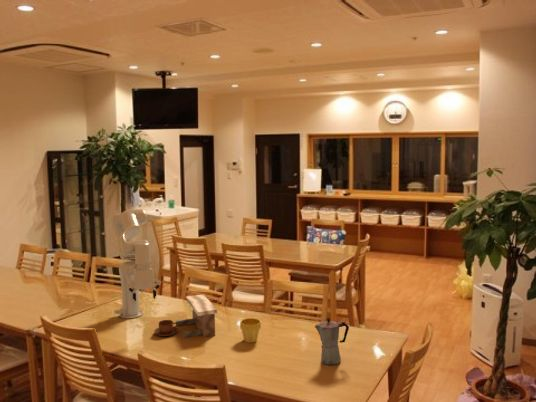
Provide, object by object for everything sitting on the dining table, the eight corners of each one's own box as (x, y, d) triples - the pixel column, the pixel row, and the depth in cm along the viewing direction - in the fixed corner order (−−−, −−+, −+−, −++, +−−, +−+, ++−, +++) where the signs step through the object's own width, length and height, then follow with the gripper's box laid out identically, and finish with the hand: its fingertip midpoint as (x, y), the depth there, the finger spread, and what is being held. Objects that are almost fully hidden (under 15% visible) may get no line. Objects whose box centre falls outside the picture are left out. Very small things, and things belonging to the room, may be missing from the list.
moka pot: (313, 357, 233) (312, 315, 230) (345, 355, 234) (346, 314, 231) (316, 366, 223) (316, 323, 221) (350, 364, 224) (351, 321, 222)
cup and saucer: (169, 327, 273) (169, 316, 272) (182, 333, 264) (181, 322, 263) (150, 333, 264) (149, 322, 264) (162, 340, 256) (162, 328, 255)
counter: (184, 340, 254) (183, 314, 252) (174, 322, 280) (173, 298, 278) (217, 335, 260) (216, 309, 258) (204, 318, 286) (203, 294, 284)
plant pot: (263, 337, 257) (263, 319, 256) (256, 345, 247) (256, 326, 246) (245, 335, 260) (244, 316, 259) (237, 342, 250) (236, 323, 249)
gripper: (126, 269, 251) (128, 303, 253) (161, 266, 257) (162, 299, 259) (125, 266, 258) (126, 299, 260) (159, 263, 264) (160, 295, 266)
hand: (144, 299), depth 259 cm, fingers open, 9 cm apart
